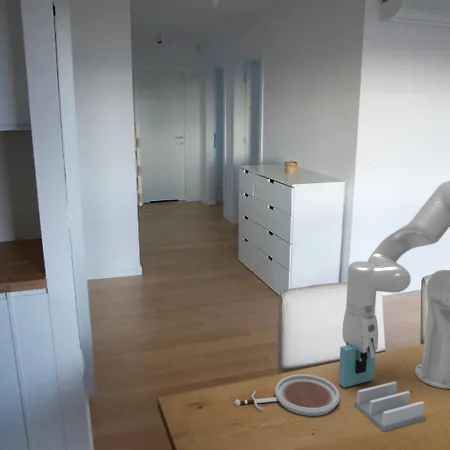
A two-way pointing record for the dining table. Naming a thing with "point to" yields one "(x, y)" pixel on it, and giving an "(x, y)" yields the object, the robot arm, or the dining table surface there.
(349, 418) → the dining table surface
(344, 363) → the teal upright slab
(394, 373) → the dining table surface
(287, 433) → the dining table surface
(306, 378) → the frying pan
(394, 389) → the dish rack
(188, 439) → the dining table surface
